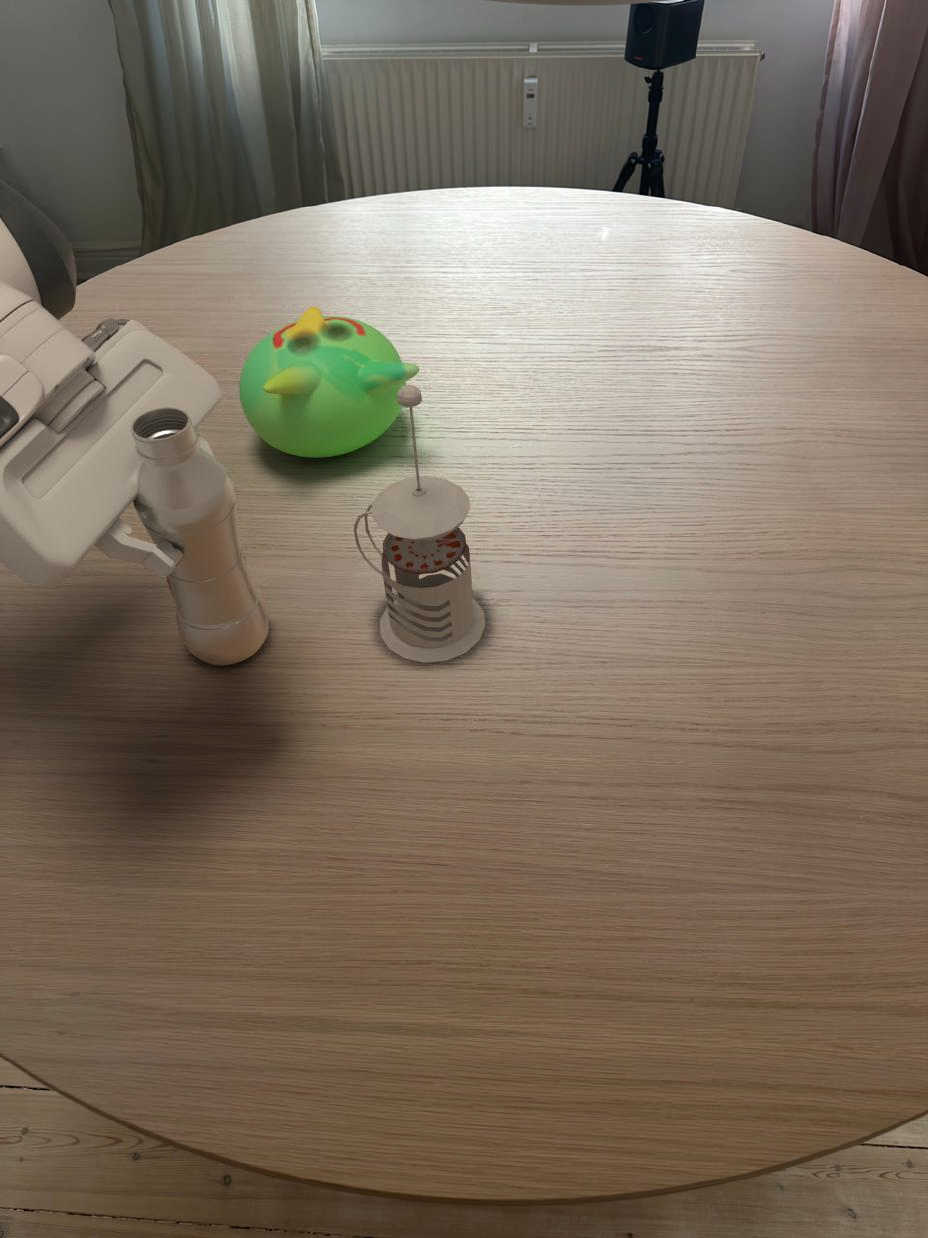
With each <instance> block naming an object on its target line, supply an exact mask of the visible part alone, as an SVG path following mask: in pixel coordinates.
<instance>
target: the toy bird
mask: <svg viewBox="0 0 928 1238" xmlns="http://www.w3.org/2000/svg"><path fill="white" fill-rule="evenodd" d="M419 372H420V367H419V366H418V365H417V364H415V363H411V362H405V361H403V360H402V358H401V356H400V354H399V352H398V351H397V349H396V347H395V346H394V344H393V343H392V341H390V340H389V339H388V337H387V336H386V335H385V334H384V333H382V332H381V331H379V330H378V329H376V328H375V327H373V326H372V325H369V324H368V323H366V322H364V321H361V320H358V319H356V318H355V319H354V318H351V317H346V316H339V315H323V314H322V311H321V309H320V308H319V307H318V306H310V307H308V308H307V309H306V310H305V311H304V312H303V313H302V315H301V316H300V317H299V319H297V320H295V321H292V322H289V323H287V324H285V325H283V326H280V327H279V328H277V329H275V330H273V331H272V332H270V333H269V334H268V335H266V336H265V337H264V338H262V339H261V340H259V342H258V343H257V344H256V345H255V346H254V347H253V349H252V350H251V351H250V352H249V354H248V356H247V357H246V359H245V361H244V364H243V366H242V368H241V373H240V376H239V385H238V392H239V393H238V394H239V400H240V405H241V409H242V411H243V415H244V416H245V418H246V421H247V422H248V424H249V425H250V428H252V429H253V431H254V433H256V435H257V436H259V438H260V439H262V440H263V441H264V442H266V443H267V444H268V445H269V446H271V447H273V448H274V449H276V450H279V451H281V452H283V453H286V454H288V455H292V456H297V457H302V458H331V457H336V456H342V455H344V454H348V453H351V452H354V451H356V450H360V449H361V448H363V447H365V446H366V445H369V444H370V443H372V442H374V441H375V440H377V439H378V438H379V437H380V436H382V435H383V434H384V433H386V431H388V430H389V428H390V427H391V426H392V425H393V424H394V422H395V420H397V418H398V416H399V414H400V412H401V411H402V407H403V406H401V405H399V404H398V398H397V393H398V390H399V389H400V388H401V387H403V386H406V385H407V382H408V381H410V380H411V379H413V378H414V377H416V376H417V375H418V374H419Z"/></svg>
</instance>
